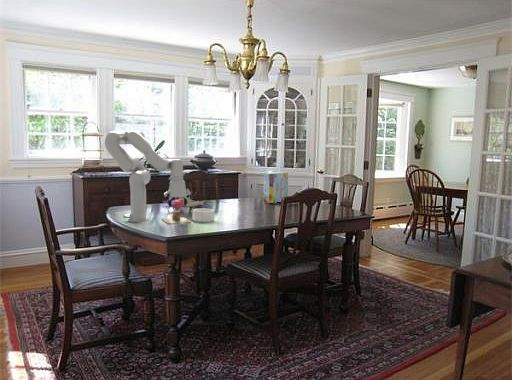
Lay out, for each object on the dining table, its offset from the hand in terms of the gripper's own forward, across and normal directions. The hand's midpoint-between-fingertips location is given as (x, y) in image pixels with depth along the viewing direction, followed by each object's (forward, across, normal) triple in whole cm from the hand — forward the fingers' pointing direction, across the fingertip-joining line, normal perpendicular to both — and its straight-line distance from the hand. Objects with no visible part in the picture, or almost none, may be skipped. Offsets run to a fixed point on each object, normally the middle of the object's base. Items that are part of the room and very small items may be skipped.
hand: (177, 205), depth 271 cm
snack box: (+13, +102, +57) cm, 117 cm away
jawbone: (+11, +28, +56) cm, 63 cm away
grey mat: (+11, -1, +1) cm, 11 cm away
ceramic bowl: (+11, +17, +1) cm, 20 cm away
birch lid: (+10, -1, +1) cm, 10 cm away
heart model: (+10, +8, +35) cm, 38 cm away
